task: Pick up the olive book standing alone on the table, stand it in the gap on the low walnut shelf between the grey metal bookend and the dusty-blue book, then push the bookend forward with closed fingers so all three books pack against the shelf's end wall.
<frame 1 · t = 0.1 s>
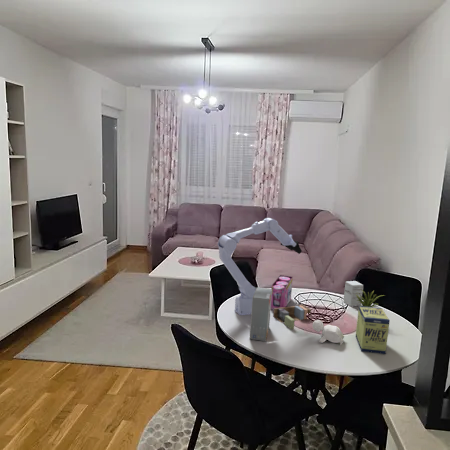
hand: (296, 250, 221), 32 cm above the table, tool tilted 50°, fingers open, 7 cm apart
protein box: (369, 345, 186), on the table
hard drive box: (259, 334, 192), on the table
gum box: (280, 304, 231), on the table
house plant: (367, 320, 214), on the table
supplement box: (352, 304, 237), on the table
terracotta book: (302, 316, 213), point 1 cm above the table, touching shelf
blue book: (298, 317, 212), point 1 cm above the table, touching shelf
bookend: (282, 319, 208), point 1 cm above the table, touching shelf
white animal figurine: (327, 340, 189), on the table
shelf: (291, 318, 211), on the table
olive book: (288, 327, 200), on the table
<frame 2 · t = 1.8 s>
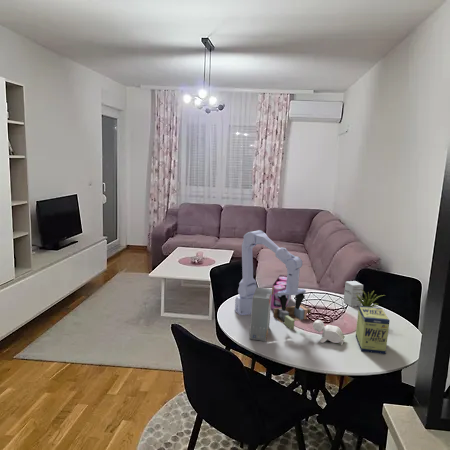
hand: (290, 309, 199), 9 cm above the table, tool pointing down, fingers open, 7 cm apart
nothing on the table moved.
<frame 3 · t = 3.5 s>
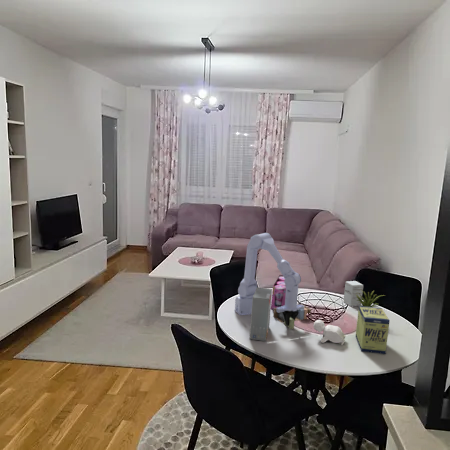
hand: (289, 324, 200), 1 cm above the table, tool pointing down, fingers closed on olive book, 2 cm apart
olive book: (288, 327, 200), on the table, touching gripper
everything else where it was.
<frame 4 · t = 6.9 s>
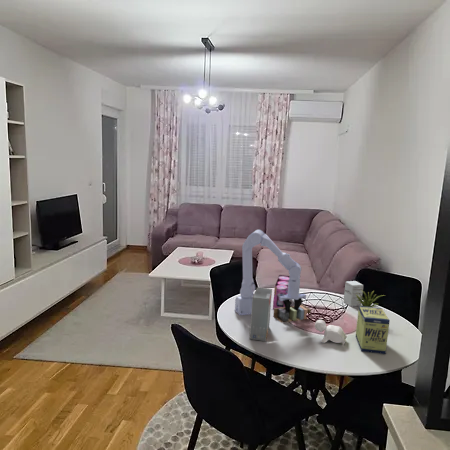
hand: (291, 312, 210), 3 cm above the table, tool pointing down, fingers open, 4 cm apart
olive book: (291, 318, 210), point 1 cm above the table, touching shelf
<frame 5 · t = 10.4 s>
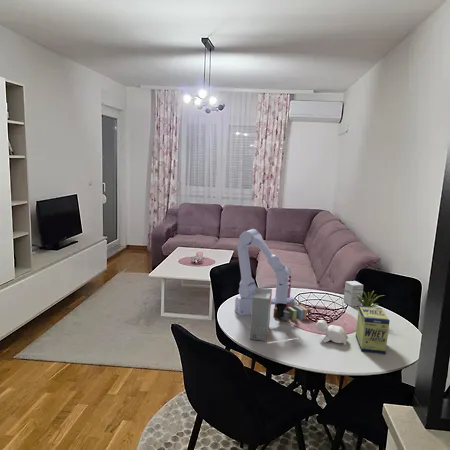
hand: (279, 317, 207), 2 cm above the table, tool pointing down, fingers closed, pressing on bookend
bookend: (282, 319, 208), point 1 cm above the table, touching gripper, shelf
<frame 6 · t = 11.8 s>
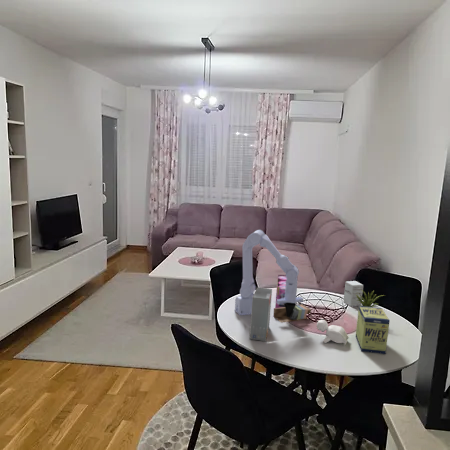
hand: (288, 316, 209), 2 cm above the table, tool pointing down, fingers closed, pressing on bookend
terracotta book: (301, 316, 213), point 1 cm above the table, tilted 9°, touching blue book, shelf
blue book: (298, 316, 212), point 1 cm above the table, tilted 10°, touching olive book, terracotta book
bookend: (290, 317, 210), point 1 cm above the table, tilted 16°, touching gripper, olive book, shelf
olive book: (295, 317, 211), point 1 cm above the table, tilted 10°, touching blue book, bookend
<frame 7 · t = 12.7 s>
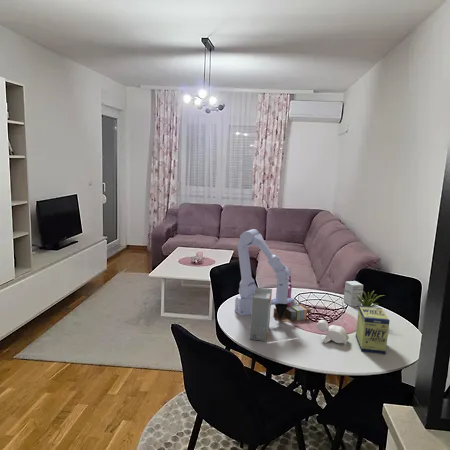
hand: (280, 317, 208), 2 cm above the table, tool pointing down, fingers closed
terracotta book: (301, 316, 213), point 1 cm above the table, touching shelf
blue book: (298, 317, 212), point 1 cm above the table, touching shelf
bookend: (290, 318, 210), point 1 cm above the table, touching shelf
olive book: (295, 317, 211), point 1 cm above the table, touching shelf
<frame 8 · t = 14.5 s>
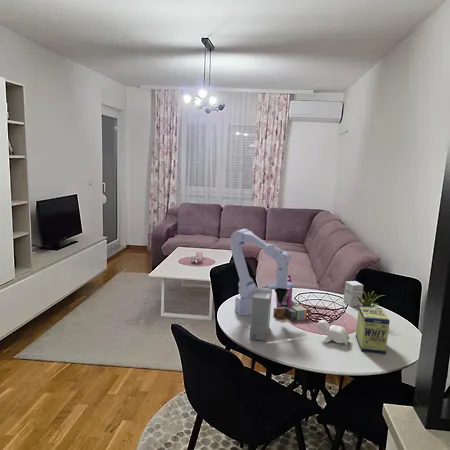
hand: (279, 302, 206), 10 cm above the table, tool pointing down, fingers closed
at the end: olive book 0.9 cm from the target spot, point 0.6 cm above the table; olive book tilted 0°; bookend 1.5 cm from the target spot, point 0.6 cm above the table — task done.
